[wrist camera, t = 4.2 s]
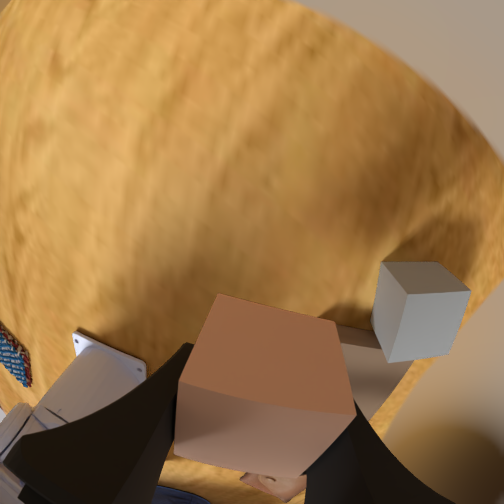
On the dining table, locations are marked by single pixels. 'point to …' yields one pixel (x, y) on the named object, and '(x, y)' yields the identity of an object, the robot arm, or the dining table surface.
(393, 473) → the robot arm
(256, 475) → the sunglasses case
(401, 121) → the dining table surface
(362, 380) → the walnut slab
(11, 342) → the woven mat
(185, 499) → the lunch bag
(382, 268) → the grey cube
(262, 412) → the terracotta cube
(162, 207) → the dining table surface
